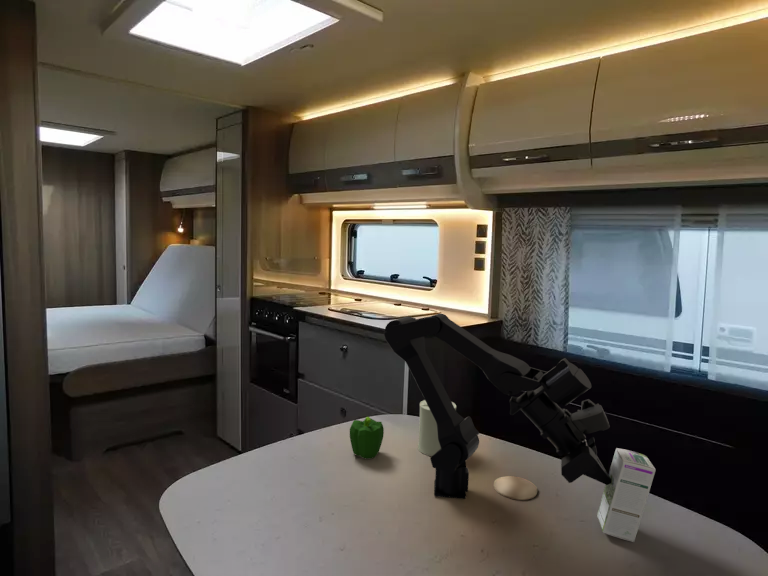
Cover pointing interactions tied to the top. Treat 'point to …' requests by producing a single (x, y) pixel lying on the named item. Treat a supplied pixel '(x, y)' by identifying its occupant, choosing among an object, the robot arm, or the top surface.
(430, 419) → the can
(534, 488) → the cork coaster
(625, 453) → the syrup box
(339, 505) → the top surface
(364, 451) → the bell pepper
